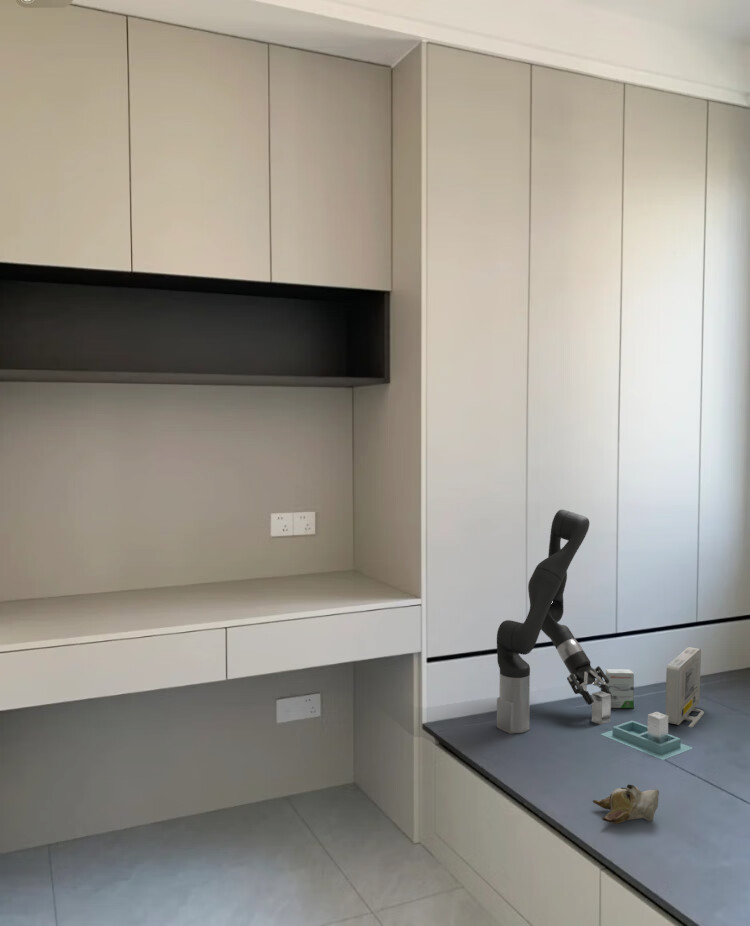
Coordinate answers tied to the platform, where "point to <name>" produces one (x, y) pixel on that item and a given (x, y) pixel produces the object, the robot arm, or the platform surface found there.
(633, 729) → the teal flat tray
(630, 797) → the ceramic sculpture
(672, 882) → the platform surface
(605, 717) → the block
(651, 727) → the block
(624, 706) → the ink box
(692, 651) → the network device
